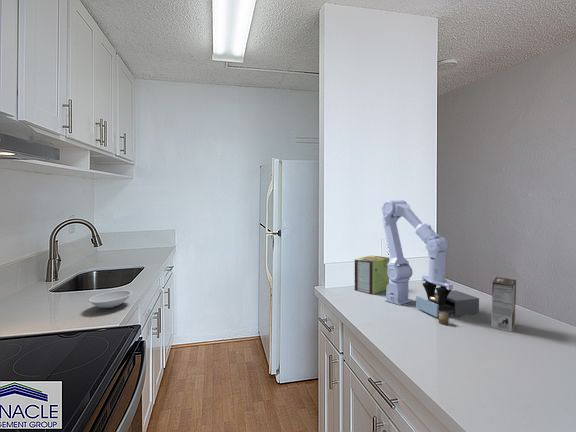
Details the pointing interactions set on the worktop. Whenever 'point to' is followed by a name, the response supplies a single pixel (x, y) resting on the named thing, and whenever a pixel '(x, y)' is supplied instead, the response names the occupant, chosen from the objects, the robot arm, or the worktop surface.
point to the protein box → (371, 274)
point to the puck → (434, 298)
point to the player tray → (433, 307)
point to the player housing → (462, 303)
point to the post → (443, 318)
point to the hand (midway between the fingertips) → (436, 303)
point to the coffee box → (503, 304)
